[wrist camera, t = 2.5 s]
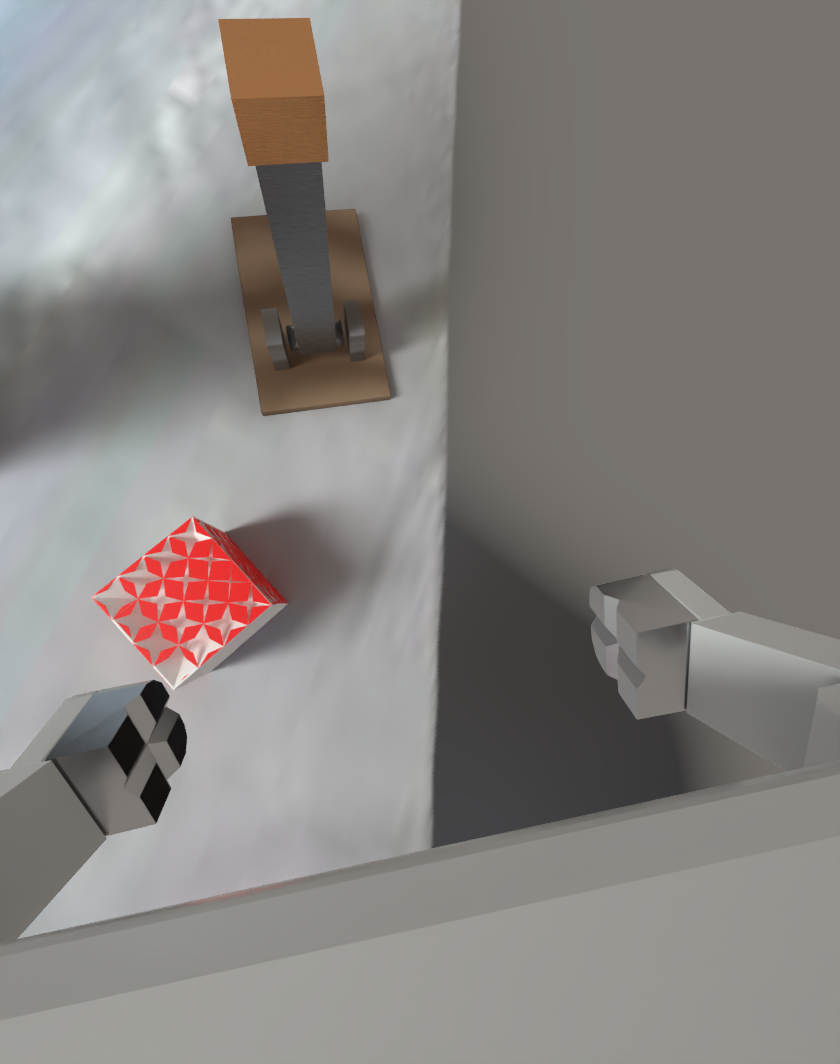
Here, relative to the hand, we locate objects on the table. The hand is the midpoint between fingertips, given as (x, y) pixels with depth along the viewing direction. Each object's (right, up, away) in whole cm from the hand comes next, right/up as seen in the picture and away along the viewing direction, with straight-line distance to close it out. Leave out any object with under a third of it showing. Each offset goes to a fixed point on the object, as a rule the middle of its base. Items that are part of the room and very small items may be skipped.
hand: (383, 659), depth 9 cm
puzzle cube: (-16, -3, +30) cm, 34 cm away
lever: (-8, +19, +31) cm, 37 cm away
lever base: (-9, +22, +34) cm, 42 cm away
